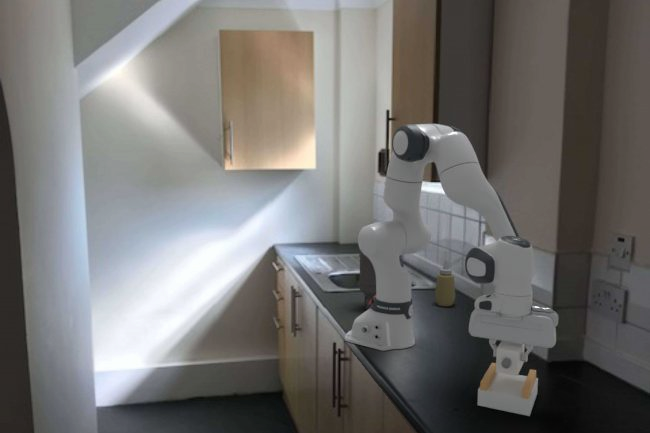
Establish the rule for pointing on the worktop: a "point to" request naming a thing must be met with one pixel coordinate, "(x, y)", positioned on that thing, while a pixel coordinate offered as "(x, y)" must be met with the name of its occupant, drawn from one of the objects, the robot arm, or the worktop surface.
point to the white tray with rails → (508, 391)
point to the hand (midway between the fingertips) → (510, 358)
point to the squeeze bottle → (445, 286)
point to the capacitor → (367, 279)
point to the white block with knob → (509, 358)
